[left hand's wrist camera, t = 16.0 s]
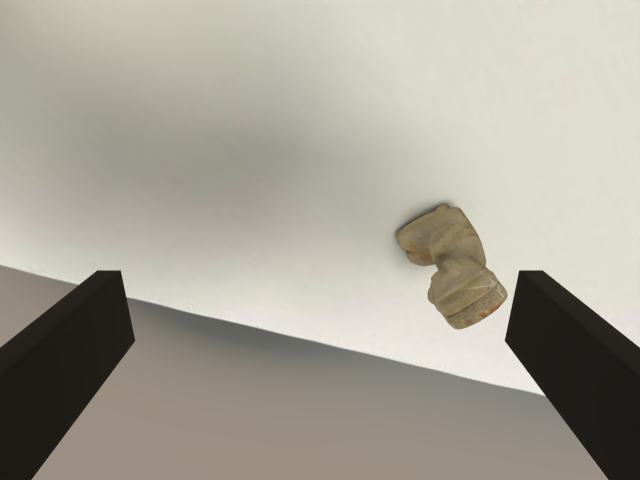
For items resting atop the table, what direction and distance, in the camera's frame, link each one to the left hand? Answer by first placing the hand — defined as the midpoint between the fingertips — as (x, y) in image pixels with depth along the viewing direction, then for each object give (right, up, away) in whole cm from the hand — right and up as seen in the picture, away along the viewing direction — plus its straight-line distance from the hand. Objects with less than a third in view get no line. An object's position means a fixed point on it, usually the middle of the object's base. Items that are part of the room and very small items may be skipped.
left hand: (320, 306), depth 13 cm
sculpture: (+12, +4, +29) cm, 32 cm away
